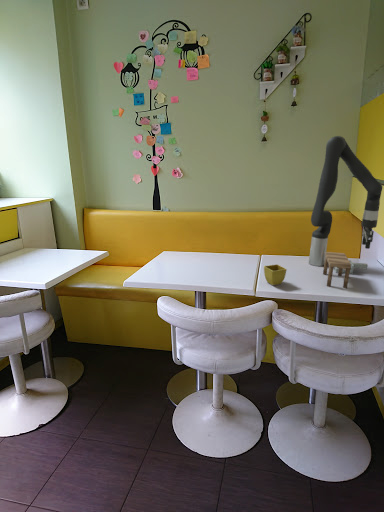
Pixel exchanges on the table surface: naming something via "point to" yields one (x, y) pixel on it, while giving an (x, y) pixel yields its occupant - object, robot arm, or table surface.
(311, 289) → the table surface
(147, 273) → the table surface
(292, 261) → the table surface
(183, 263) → the table surface
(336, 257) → the slatted wooden stool
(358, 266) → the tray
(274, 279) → the flower pot
